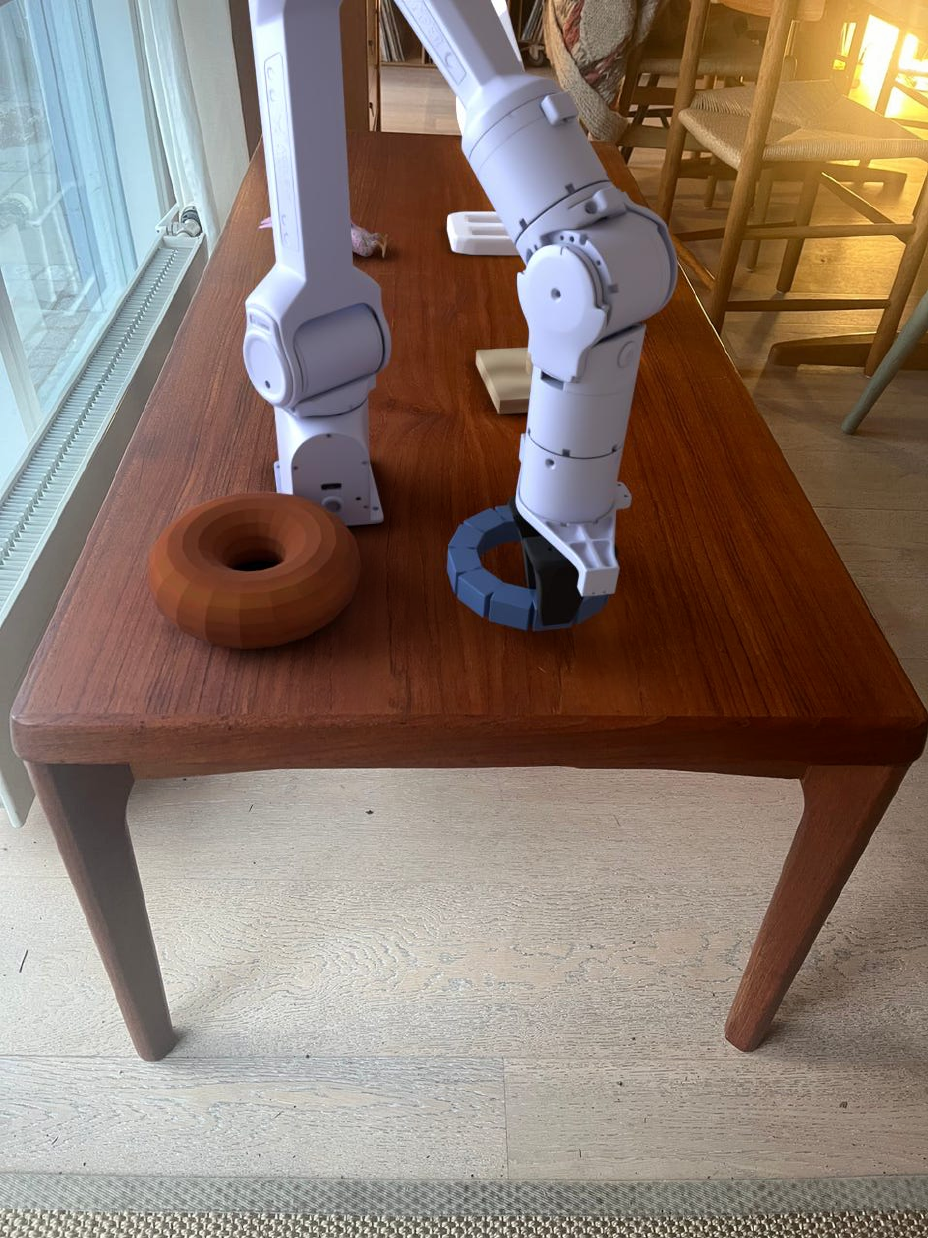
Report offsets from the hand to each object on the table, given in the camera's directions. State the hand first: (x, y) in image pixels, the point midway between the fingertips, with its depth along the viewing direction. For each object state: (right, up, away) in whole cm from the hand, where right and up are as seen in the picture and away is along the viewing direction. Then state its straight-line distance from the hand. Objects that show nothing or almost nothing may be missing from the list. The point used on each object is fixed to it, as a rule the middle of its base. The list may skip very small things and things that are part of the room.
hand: (549, 608), depth 65 cm
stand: (+1, +22, +30) cm, 37 cm away
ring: (-1, +2, +4) cm, 5 cm away
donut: (-21, +1, +5) cm, 21 cm away
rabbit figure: (-23, +43, +52) cm, 71 cm away
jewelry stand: (-1, +50, +61) cm, 80 cm away
